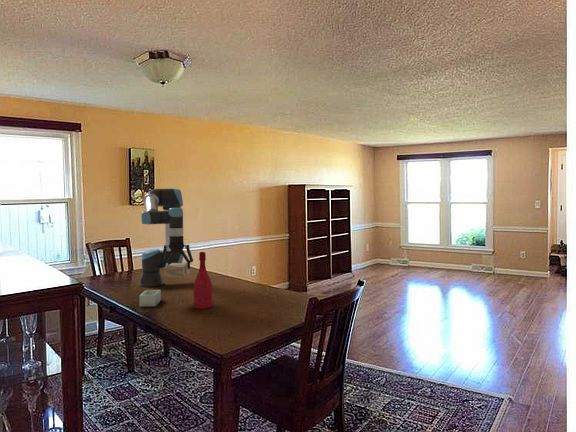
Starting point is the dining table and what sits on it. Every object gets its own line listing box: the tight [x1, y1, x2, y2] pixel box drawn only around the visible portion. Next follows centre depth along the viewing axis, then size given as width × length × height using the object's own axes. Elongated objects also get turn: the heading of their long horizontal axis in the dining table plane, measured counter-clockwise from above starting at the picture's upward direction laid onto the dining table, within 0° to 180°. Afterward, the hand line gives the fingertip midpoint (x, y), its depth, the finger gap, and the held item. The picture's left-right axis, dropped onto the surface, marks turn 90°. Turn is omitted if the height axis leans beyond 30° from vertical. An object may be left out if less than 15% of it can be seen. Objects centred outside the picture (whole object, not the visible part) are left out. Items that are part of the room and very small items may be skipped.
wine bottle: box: [193, 251, 213, 310], centre depth 229 cm, size 10×10×30 cm
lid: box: [163, 262, 191, 280], centre depth 239 cm, size 15×10×6 cm, turn 177°
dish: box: [138, 289, 162, 307], centre depth 238 cm, size 13×8×6 cm, turn 4°
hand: (177, 274), depth 239 cm, fingers closed on lid, 10 cm apart
